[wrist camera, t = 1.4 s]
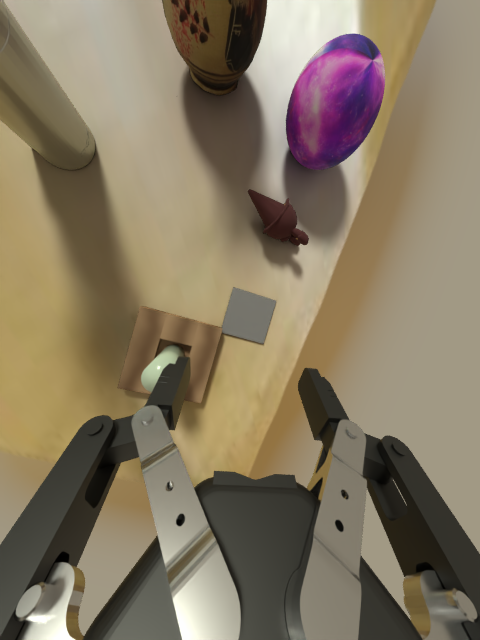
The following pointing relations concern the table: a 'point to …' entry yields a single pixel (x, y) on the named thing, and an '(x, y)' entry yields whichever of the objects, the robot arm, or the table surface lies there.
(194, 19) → the ceramic jug
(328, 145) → the decorative orb
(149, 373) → the ball
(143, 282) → the table surface
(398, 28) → the table surface
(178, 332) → the pocket block
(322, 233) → the table surface
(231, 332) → the mat
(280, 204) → the icecream
